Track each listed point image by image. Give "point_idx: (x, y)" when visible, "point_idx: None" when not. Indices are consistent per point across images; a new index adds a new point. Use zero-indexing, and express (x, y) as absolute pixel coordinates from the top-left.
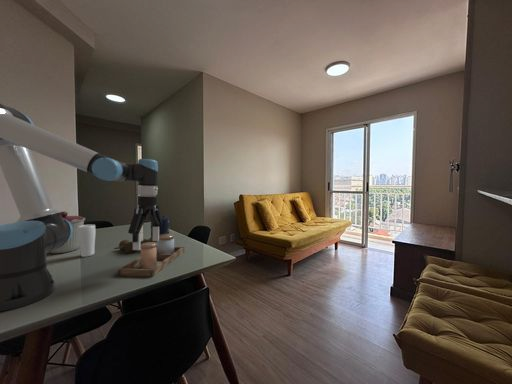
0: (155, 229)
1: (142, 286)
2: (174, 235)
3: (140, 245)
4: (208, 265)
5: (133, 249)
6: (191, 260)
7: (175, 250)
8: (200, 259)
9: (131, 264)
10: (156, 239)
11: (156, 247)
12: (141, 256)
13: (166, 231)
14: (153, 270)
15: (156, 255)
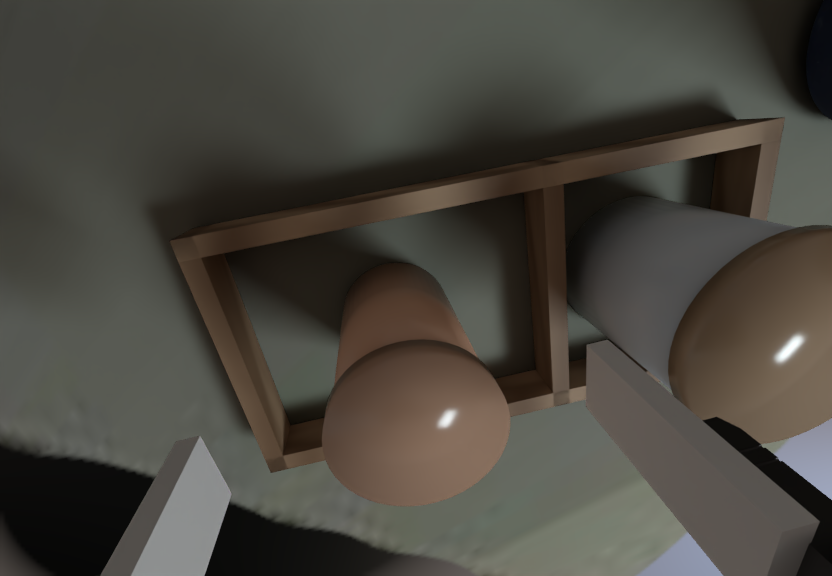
0: (716, 517)
1: None
2: (803, 430)
3: (336, 403)
4: (493, 572)
5: (177, 454)
6: (547, 473)
7: None
8: (568, 503)
9: (316, 231)
10: (597, 401)
11: (811, 49)
12: (340, 345)
13: None
14: (281, 465)
15: (544, 275)
